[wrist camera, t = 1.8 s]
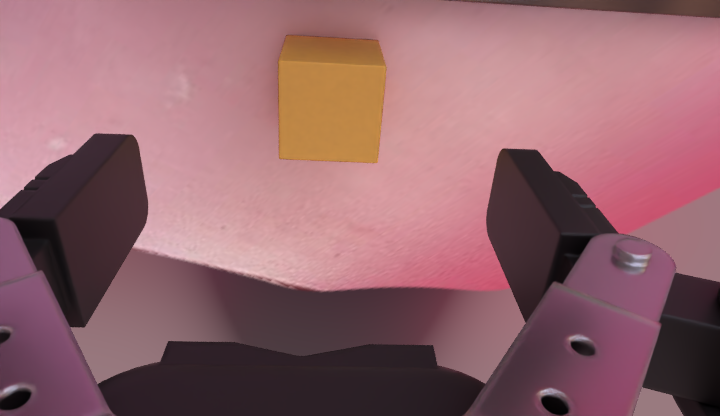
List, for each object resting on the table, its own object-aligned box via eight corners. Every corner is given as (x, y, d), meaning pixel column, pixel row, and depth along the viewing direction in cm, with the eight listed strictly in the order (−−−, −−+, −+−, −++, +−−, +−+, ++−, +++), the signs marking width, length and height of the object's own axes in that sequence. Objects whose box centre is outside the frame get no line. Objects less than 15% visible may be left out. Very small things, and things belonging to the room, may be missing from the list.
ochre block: (286, 122, 29) (278, 159, 25) (286, 34, 26) (277, 60, 22) (371, 126, 29) (377, 163, 25) (378, 40, 27) (386, 66, 23)
